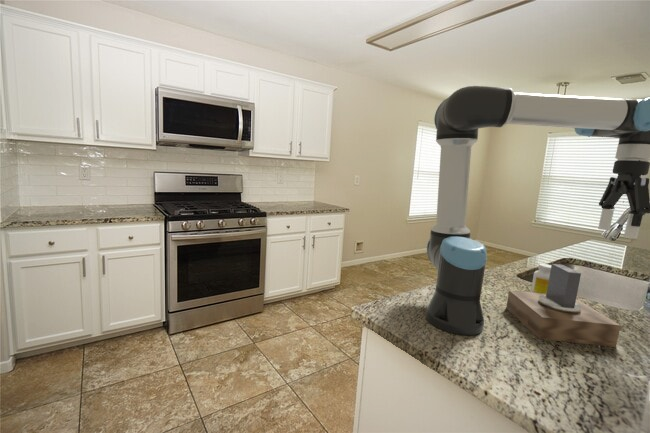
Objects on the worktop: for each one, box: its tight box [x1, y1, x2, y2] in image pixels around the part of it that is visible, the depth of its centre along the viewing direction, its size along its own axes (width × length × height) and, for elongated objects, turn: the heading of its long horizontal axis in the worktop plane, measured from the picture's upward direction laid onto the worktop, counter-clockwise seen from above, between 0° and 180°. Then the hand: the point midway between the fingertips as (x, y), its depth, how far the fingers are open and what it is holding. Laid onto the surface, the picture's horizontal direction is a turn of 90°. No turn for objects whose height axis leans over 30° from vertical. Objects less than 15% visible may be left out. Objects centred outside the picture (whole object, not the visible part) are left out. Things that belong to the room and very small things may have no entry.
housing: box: [506, 290, 621, 348], centre depth 93 cm, size 19×19×6 cm
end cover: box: [538, 263, 582, 313], centre depth 92 cm, size 10×10×16 cm
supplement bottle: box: [530, 263, 552, 294], centre depth 111 cm, size 7×7×13 cm
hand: (616, 233), depth 95 cm, fingers open, 13 cm apart
